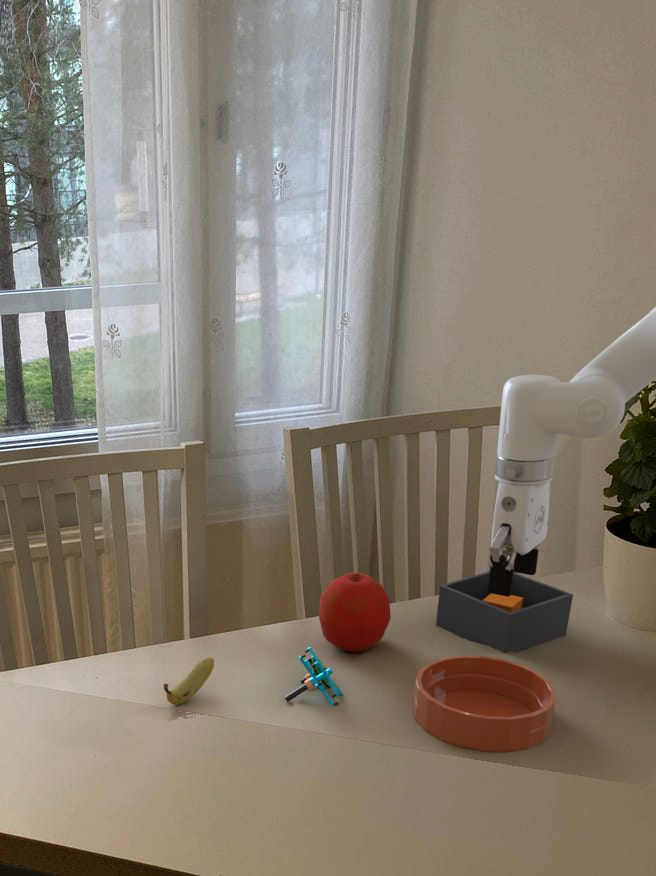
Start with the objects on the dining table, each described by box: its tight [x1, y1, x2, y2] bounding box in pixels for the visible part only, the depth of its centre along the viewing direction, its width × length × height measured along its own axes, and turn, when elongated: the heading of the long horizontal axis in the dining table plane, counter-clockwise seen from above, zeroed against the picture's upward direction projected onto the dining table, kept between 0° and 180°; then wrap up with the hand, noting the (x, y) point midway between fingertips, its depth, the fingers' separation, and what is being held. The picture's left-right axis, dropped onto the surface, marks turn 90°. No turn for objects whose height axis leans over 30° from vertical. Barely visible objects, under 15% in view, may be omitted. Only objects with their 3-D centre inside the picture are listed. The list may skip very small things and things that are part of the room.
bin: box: [435, 570, 574, 654], centre depth 135 cm, size 13×13×6 cm
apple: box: [318, 572, 391, 653], centre depth 131 cm, size 10×10×12 cm
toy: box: [482, 593, 523, 613], centre depth 136 cm, size 4×4×4 cm
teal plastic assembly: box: [284, 646, 345, 706], centre depth 120 cm, size 12×7×8 cm
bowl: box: [412, 655, 557, 753], centre depth 112 cm, size 16×16×5 cm
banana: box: [163, 657, 215, 706], centre depth 119 cm, size 10×2×4 cm, turn 141°
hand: (512, 583), depth 133 cm, fingers open, 9 cm apart
